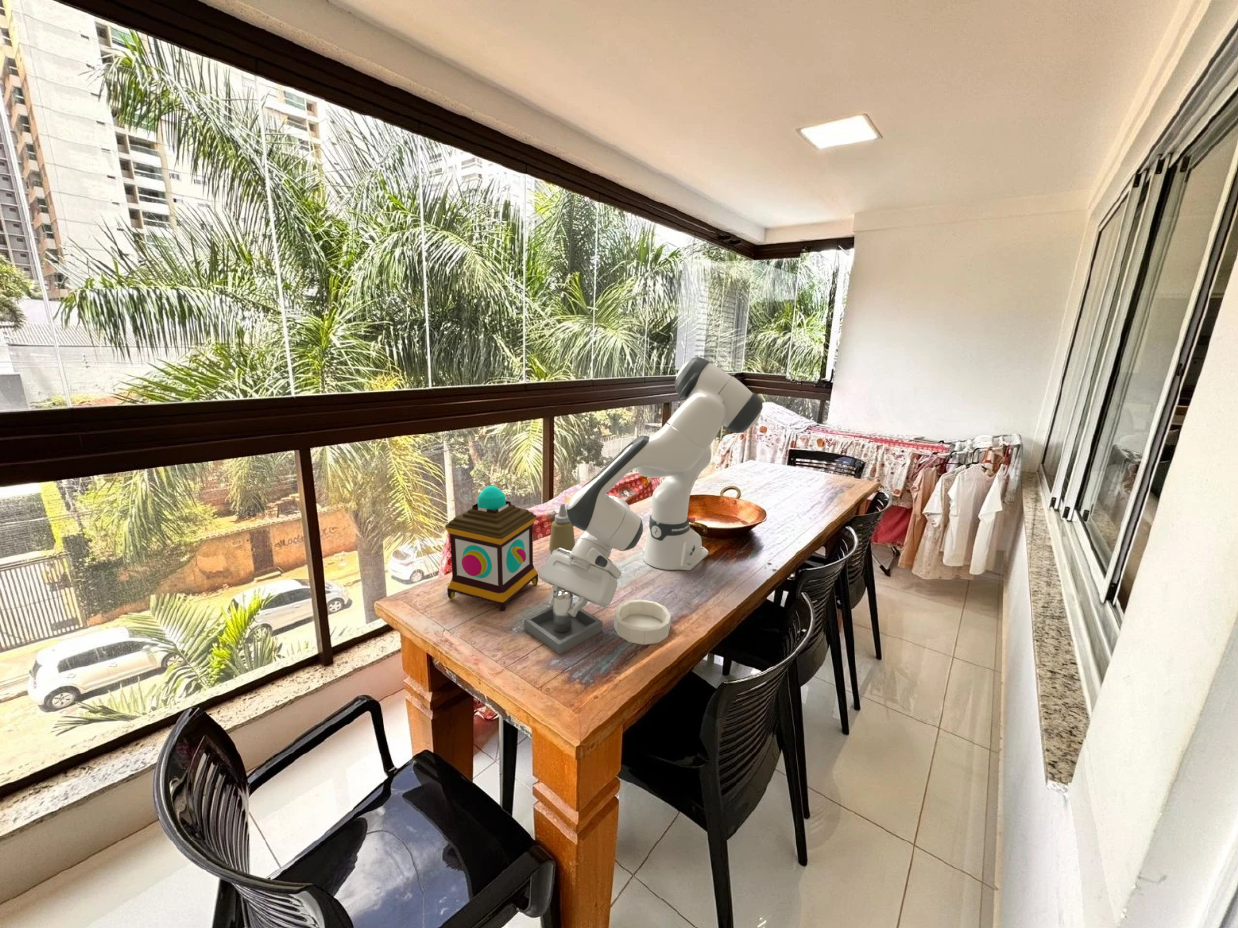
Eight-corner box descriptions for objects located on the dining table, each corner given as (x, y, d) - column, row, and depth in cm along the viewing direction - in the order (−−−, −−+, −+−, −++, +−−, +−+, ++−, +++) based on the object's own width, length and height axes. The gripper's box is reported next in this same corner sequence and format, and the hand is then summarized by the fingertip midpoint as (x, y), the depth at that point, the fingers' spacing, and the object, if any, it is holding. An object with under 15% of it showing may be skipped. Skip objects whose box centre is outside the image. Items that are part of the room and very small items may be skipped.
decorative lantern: (486, 568, 147) (482, 470, 139) (545, 582, 140) (545, 481, 132) (439, 601, 129) (432, 491, 121) (504, 619, 122) (501, 504, 114)
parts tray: (566, 611, 127) (566, 599, 126) (602, 634, 118) (602, 621, 117) (524, 632, 117) (523, 619, 117) (559, 658, 109) (559, 644, 108)
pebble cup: (563, 618, 121) (564, 585, 118) (576, 626, 118) (576, 592, 115) (549, 625, 117) (549, 592, 115) (561, 634, 114) (561, 599, 112)
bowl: (639, 609, 129) (640, 594, 127) (679, 631, 120) (681, 615, 119) (603, 629, 120) (604, 613, 118) (644, 655, 111) (645, 637, 110)
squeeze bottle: (557, 567, 149) (557, 510, 144) (544, 556, 156) (544, 502, 151) (580, 560, 154) (581, 506, 149) (566, 550, 160) (567, 498, 155)
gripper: (550, 540, 124) (522, 591, 119) (617, 565, 113) (589, 622, 108) (562, 550, 129) (535, 600, 124) (627, 575, 118) (601, 630, 113)
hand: (561, 610), depth 116 cm, fingers closed on pebble cup, 4 cm apart
